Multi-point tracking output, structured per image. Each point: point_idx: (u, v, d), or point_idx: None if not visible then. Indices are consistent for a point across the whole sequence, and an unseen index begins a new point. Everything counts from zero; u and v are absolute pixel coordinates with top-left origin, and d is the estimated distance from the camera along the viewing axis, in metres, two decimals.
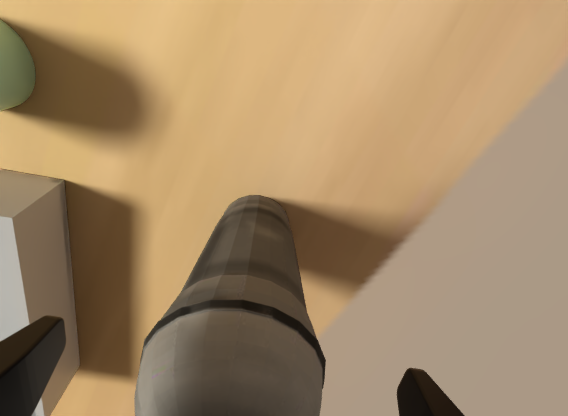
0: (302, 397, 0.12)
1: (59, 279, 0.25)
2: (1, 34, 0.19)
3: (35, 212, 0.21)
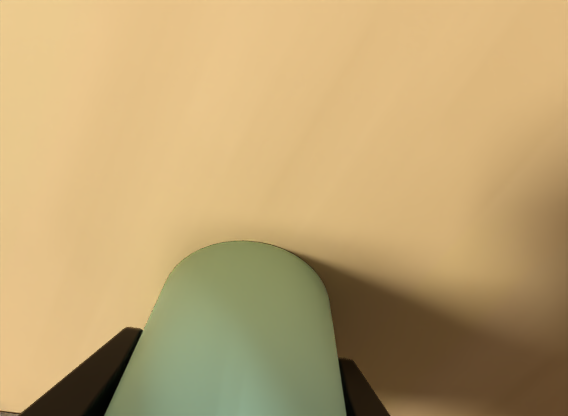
0: None
1: None
2: (320, 303, 0.09)
3: None
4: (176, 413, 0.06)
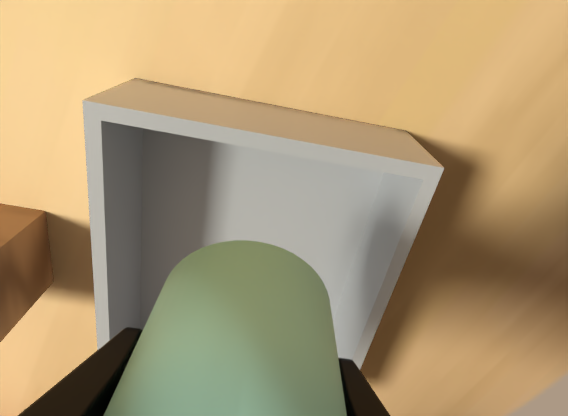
0: None
1: None
2: (320, 303, 0.09)
3: None
4: (176, 413, 0.06)
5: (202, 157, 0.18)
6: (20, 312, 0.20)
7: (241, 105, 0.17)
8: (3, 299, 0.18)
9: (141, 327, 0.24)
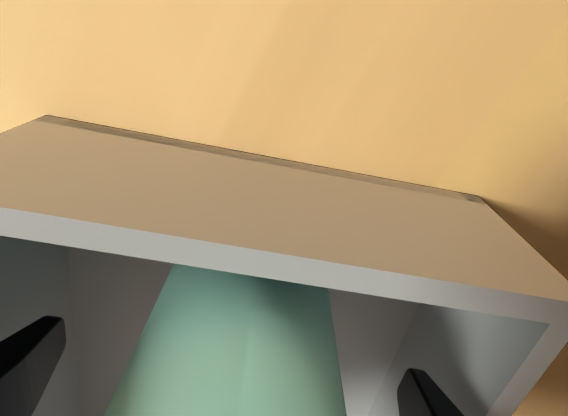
0: None
1: None
2: None
3: None
4: (199, 331, 0.07)
5: None
6: None
7: (216, 163, 0.10)
8: None
9: None
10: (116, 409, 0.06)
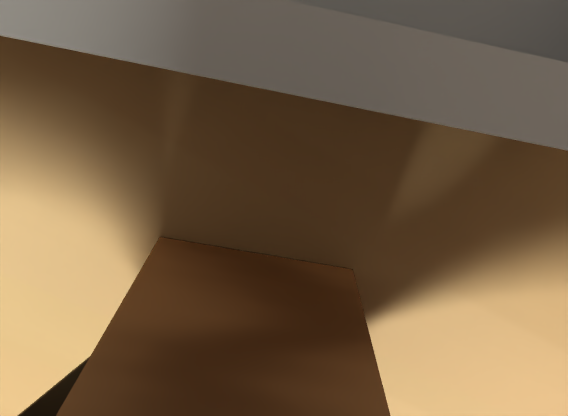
0: None
1: None
2: None
3: None
4: None
5: None
6: (358, 371, 0.07)
7: None
8: (261, 403, 0.06)
9: None
10: None
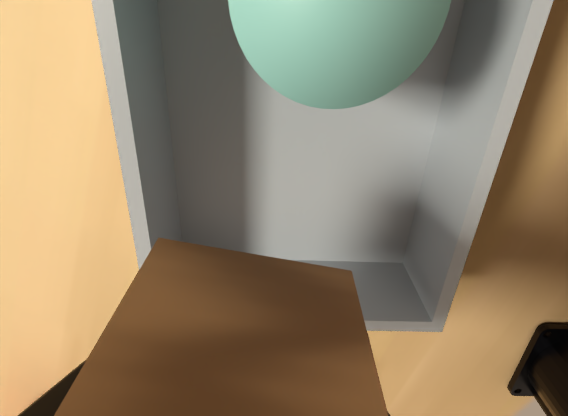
0: None
1: None
2: None
3: None
4: None
5: None
6: (357, 373, 0.07)
7: None
8: (258, 405, 0.06)
9: (183, 236, 0.19)
10: None
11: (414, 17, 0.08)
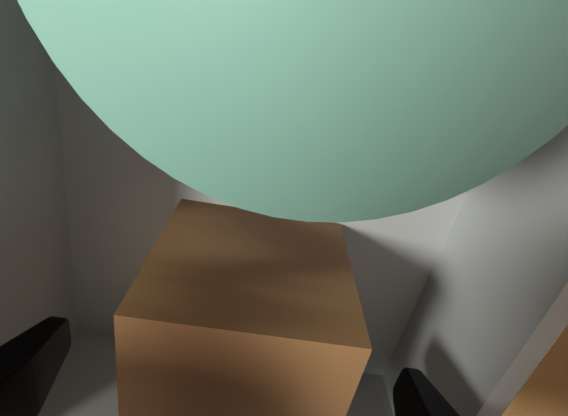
0: None
1: None
2: None
3: None
4: None
5: None
6: (340, 287, 0.09)
7: None
8: (265, 302, 0.08)
9: (77, 306, 0.13)
10: None
11: None
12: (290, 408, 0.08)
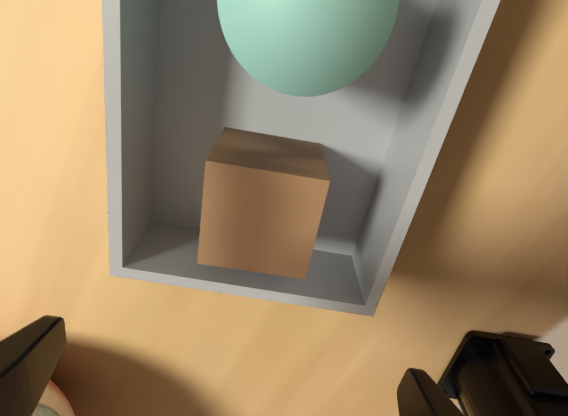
0: None
1: None
2: None
3: None
4: None
5: None
6: (317, 163, 0.16)
7: None
8: (277, 164, 0.16)
9: (154, 202, 0.21)
10: None
11: (368, 23, 0.10)
12: (289, 220, 0.16)
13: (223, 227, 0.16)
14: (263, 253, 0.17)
